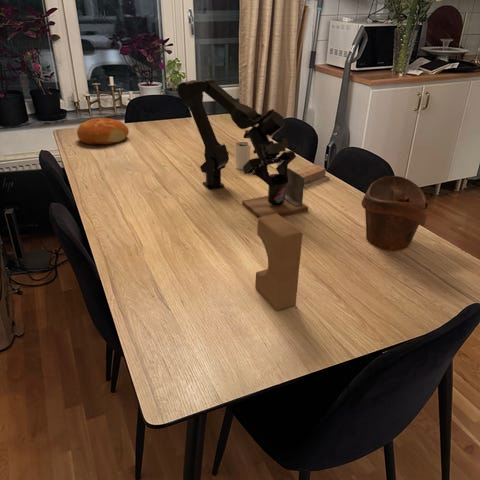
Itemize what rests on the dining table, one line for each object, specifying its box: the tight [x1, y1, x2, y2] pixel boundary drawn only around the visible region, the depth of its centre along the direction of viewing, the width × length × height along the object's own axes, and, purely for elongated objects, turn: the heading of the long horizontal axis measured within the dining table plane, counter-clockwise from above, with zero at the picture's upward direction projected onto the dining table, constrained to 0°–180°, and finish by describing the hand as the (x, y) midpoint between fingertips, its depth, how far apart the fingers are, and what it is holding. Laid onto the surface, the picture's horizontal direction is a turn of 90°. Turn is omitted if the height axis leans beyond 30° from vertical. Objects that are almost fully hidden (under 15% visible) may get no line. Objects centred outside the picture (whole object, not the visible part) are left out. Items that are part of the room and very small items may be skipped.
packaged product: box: [293, 164, 331, 188], centre depth 179 cm, size 18×5×10 cm
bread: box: [76, 117, 130, 146], centre depth 218 cm, size 23×23×10 cm
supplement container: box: [267, 173, 287, 205], centre depth 153 cm, size 6×6×9 cm
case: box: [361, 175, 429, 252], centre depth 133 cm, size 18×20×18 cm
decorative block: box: [254, 214, 303, 311], centre depth 108 cm, size 11×6×20 cm, turn 26°
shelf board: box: [241, 167, 309, 219], centre depth 154 cm, size 14×18×12 cm
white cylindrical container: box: [234, 140, 252, 171], centre depth 189 cm, size 7×7×10 cm
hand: (279, 184), depth 151 cm, fingers closed on supplement container, 6 cm apart
